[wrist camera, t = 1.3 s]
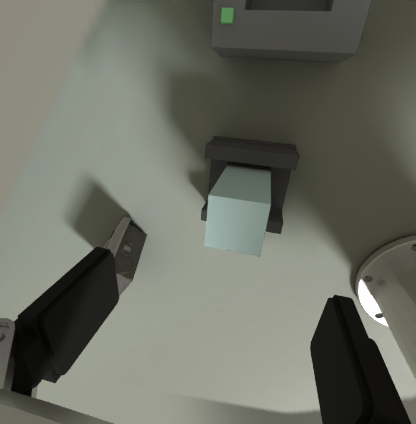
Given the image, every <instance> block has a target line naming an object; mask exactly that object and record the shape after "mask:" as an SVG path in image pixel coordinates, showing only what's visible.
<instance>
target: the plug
mask: <svg viewBox="0 0 416 424" xmlns="http://www.w3.org/2000/svg"><path fill="white" fill-rule="evenodd" d="M270 206H271V167H270V166H262V165H254V164H246V163H238V162H230V161H229V162H228V164H227V165H226V168H225V170H224V171H223V173H222V174H221V176H220V178H219V179H218V181H217V182H216V184H215V185H214V187H213V189H212V190H211V192H210V193H209V195H208V208H207V221H206V234H205V246H208V247H213V248H218V249H223V250H228V251H234V252H239V253H244V254H249V255H254V256H260V255H261V250H262V246H263V241H264V236H265V231H266V226H267V221H268V216H269V211H270Z"/></svg>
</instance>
